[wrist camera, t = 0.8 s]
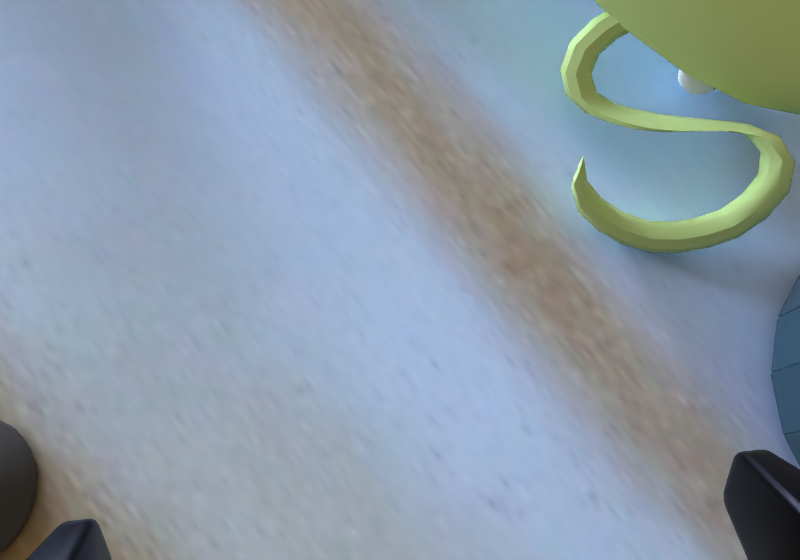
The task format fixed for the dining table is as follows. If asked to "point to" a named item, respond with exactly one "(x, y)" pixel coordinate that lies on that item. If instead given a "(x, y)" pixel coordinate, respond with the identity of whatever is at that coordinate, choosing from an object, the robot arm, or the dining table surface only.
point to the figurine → (698, 74)
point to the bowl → (788, 369)
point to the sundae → (15, 483)
